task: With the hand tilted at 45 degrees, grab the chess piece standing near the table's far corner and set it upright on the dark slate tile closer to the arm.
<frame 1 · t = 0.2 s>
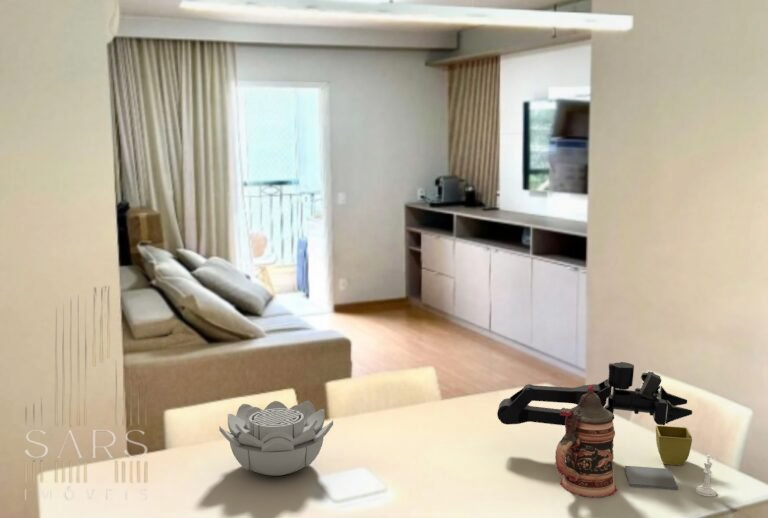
hand: (689, 406, 222), 17 cm above the table, tool horizontal, fingers open, 9 cm apart
beer stein: (583, 487, 210), on the table
decorative bowl: (275, 468, 222), on the table
chess piece: (706, 493, 207), on the table
flower pot: (671, 462, 226), on the table
slate tile: (650, 478, 215), on the table
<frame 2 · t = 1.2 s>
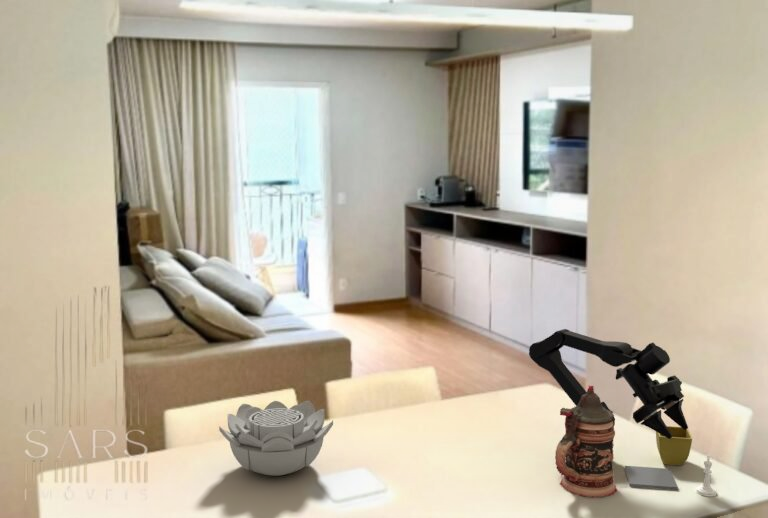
hand: (678, 433, 210), 14 cm above the table, tool tilted 45°, fingers open, 9 cm apart
nothing on the table moved.
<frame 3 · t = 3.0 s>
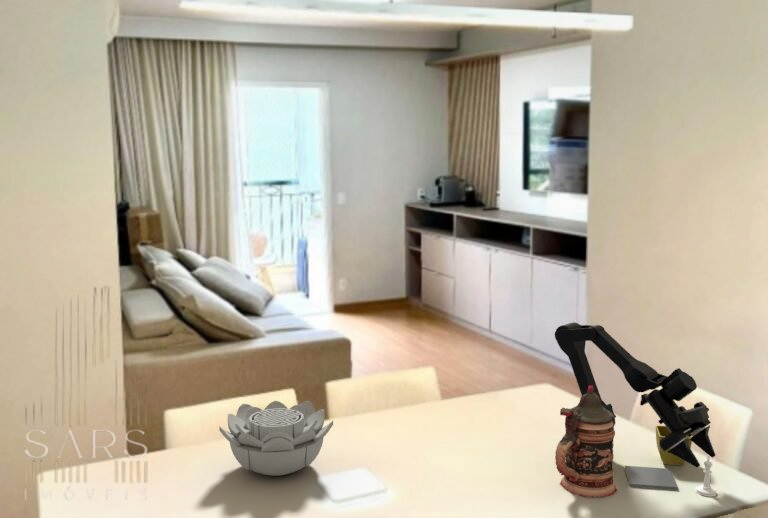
hand: (706, 461, 206), 8 cm above the table, tool tilted 45°, fingers open, 9 cm apart
nothing on the table moved.
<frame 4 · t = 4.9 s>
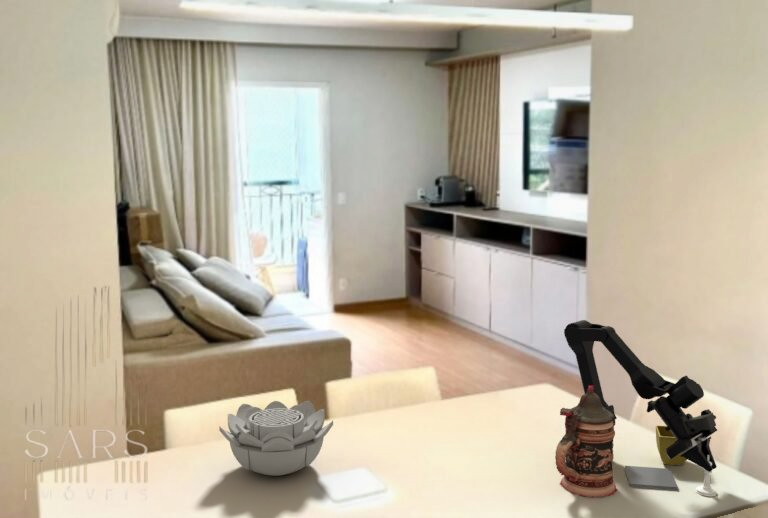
hand: (713, 469, 205), 7 cm above the table, tool tilted 45°, fingers closed on chess piece
chess piece: (706, 493, 207), on the table, touching gripper
everything else where it was.
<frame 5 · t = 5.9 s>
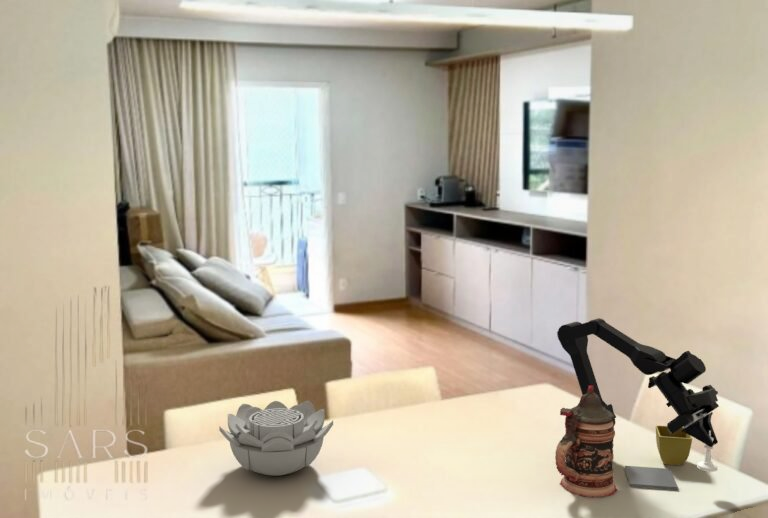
hand: (714, 444, 204), 13 cm above the table, tool tilted 45°, fingers closed on chess piece
chess piece: (707, 468, 206), point 6 cm above the table, touching gripper
everything else where it was.
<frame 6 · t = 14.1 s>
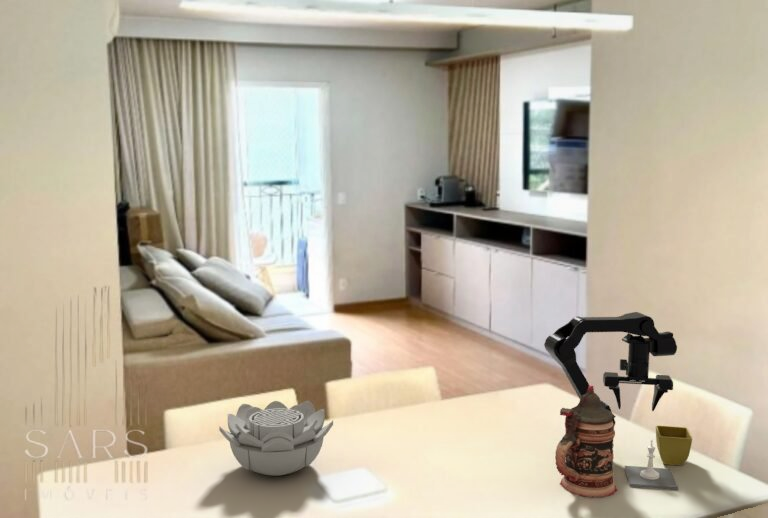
hand: (636, 409, 231), 13 cm above the table, tool pointing down, fingers open, 9 cm apart
chess piece: (649, 476, 215), point 1 cm above the table, touching slate tile
everything else where it was.
at the end: chess piece inside the target area on the slate tile (0.1 cm from its centre), point 0.6 cm above the slate tile's base; chess piece tilted 0°; the gripper is holding nothing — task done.
